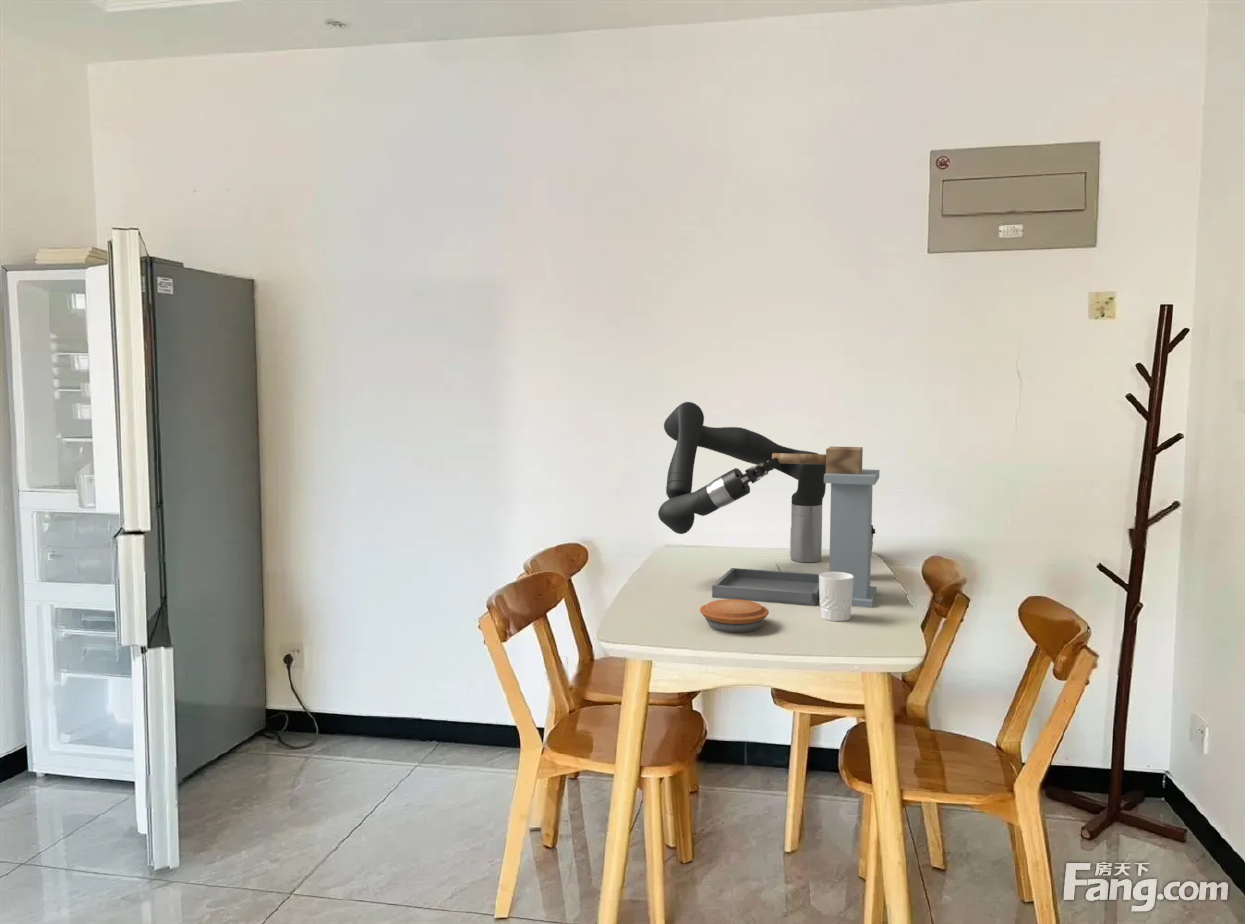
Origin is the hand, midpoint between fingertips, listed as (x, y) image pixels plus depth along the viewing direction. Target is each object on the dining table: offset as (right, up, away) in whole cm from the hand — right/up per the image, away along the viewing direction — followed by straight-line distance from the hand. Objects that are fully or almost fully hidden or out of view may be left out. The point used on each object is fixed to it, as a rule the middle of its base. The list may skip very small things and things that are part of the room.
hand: (781, 459), depth 223 cm
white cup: (+9, -37, -21) cm, 43 cm away
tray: (-2, -35, +4) cm, 35 cm away
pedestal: (+17, -35, -3) cm, 39 cm away
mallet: (+8, -3, -3) cm, 9 cm away
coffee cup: (+24, -33, +19) cm, 45 cm away
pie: (-16, -38, -27) cm, 49 cm away
